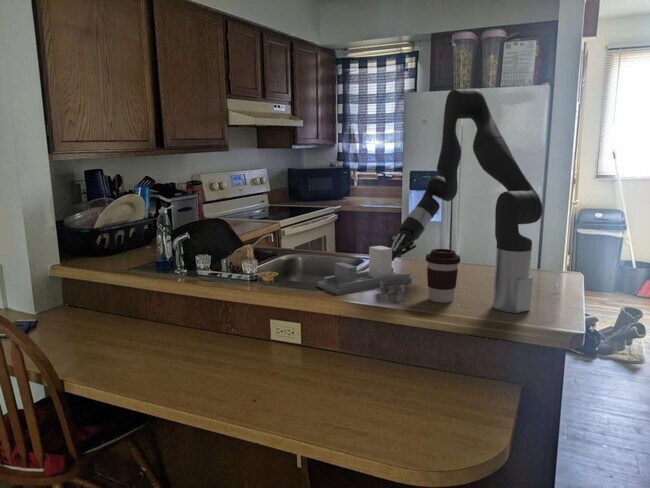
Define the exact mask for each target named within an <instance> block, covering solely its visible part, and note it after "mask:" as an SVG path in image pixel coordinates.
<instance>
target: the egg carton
mask: <svg viewBox="0 0 650 488" xmlns="http://www.w3.org/2000/svg"><path fill="white" fill-rule="evenodd" d="M378 289H379V293H380V295H379V296H380V301H383V302H385V303H386V302H387V303H389V302H396V303H400V302H404V299H405V298H404V297H405V296H404V295H405V294H404V292H405V284H399V285H394V284H393V285H392V286H388V284H387V283H382V281H381V283H380V288H378ZM385 293H386V294H385Z"/></svg>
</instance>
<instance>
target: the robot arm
mask: <svg viewBox="0 0 650 488" xmlns="http://www.w3.org/2000/svg"><path fill="white" fill-rule="evenodd" d="M458 119H459V120H462V119H471V120H472V121H473V122H474V124H475V127H476V132H475V135H474V138H473V142H472V151H473V154H474V156H475V158H476V159H477V162H478V164H479V165H480V166H479V167H481V168H482V170H483V171H484V172H485V173H487V174H488V175H489V176H490V177H491V178H493V179H495V181H497V182H498V183H500V185H502V186H503V187H504V188H505V189H506V190H507V191H503V192H501V193H500V194H499V195H498V197H497V199H496V203H495V209H494V211H495V218H494V219H495V221H494V222H495V223H494V224H495V225H494V226H495V227H494V236H495V241H496V248H495V249H496V250H495V265H494V278H493V280H494V281H493V293H492V294H493V295H492V308H494V309H496V310H498V311H501V312H506V313H514V314H520V313H523V312H528V311H531V301H532V291H533V277H532V276H530V273H531V260H532V249H533V241H532V239H531V238H530V237H526V236H523V235H522V234H521V233H520V232H519V231H520V229H519V225H529V224H535V223H537V222H538V221H539V220H540V219H541V218H542V215H543V204H542V200H541V198H540V196H539V194H538V192H537V191H536V190H535V188H534V187H533V185H532V184H531V182H530V181H529V180H528V178H527V177H526V176H525V174H524V173H523V171H522V170H521V168H520V166H519V165H518V163H517V162H516V159H515V157H514V156H513V155H512V152H511V149H510V148H509V146H508V144H507V143H506V140H505V138H504V137H503V136H502V134H501V132H500V130H499V129H498V126H497V124H496V122H495V120H494V118H493V116H492V113H491V110H490V108H489V106H488V103H487V101H486V98H485V96H484V93H482V91H480V90H479V89H477V88H453V89H451V90H450V91H449V92H448V94H447V96H446V101H445V104H444V114H443V123H442V124H443V125H442V140H441V147H440V152H439V158H438V160H437V166H436V171H437V173H438V174H439V175H435V176H432V177H431V178H430V179H429V181H428V183H427V185H426V188H425V190H424V192H423V196H422V197H421V199H420V201H418V203H417V204H416V206H415V207H414V208H413V210H411V211H410V213H409V214H408V216H406V217H405V219H404V220H403V222H402V223H401V225H400V226H399V231H398V232H397V233H396V235H394V236H392V235H390V236H388V238H387V240H388V241H387V247H388V248H392V262H394V260H395V259H396V257H397V256H399V255H401V256H403V255H405V254H407V253H409V252H410V251H412V250H413V249H415V248H416V247H417V245H416V243H415V242H416V240H419V239H420V236H422V234H423V233H424V231H426V229H427V228H428V226H429V224H430V223H431V221H432V219H433V218H434V217H435V216H436V214H437V213H438V211H439V210H440V207H441V206H440V203H439V202H438V201H437V200H436V199H435V198H434V197H436V198H438V199H440V200H442V201H445V202H451V201H453V199H455V197H456V196H457V193H458V186H459V185H458V183H459V182H458V169H459V166H460V163H461V159H462V157H461V156H462V147H461V144H460V142H459V139H458V136H457V135H458V134H457V132H456V125H457V121H458Z"/></svg>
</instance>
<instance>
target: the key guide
mask: <svg viewBox="0 0 650 488" xmlns="http://www.w3.org/2000/svg"><path fill="white" fill-rule="evenodd" d="M412 280H413V279H412V277H411V273H410V272H403V273H397V272H394V267H392V273H391V275H388V276H382V277H376V278H373V277H371V276H369V270H364V271H358V272H357V273H356V281H352V282H344V283H338V282H336V281H335V275H331V276H330V275H329V276H324V277H323V280H321V281H317V282H316V283H317V287H318V288H320V289H322V290H325V291H327V292H329V293H331V294H334V295H336V296H341V295H346V294H352V293H357V292H363V291H369V290H375V289H380V283H381V281H382V283H387V284H388V286H389V287H392V285H393V284H394V285H395V286H397V285H405V284H410V283H412Z"/></svg>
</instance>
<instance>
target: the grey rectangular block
mask: <svg viewBox="0 0 650 488" xmlns="http://www.w3.org/2000/svg"><path fill="white" fill-rule="evenodd" d="M357 269H358V268H357V266H354V265H352V264H348V263H347V262H336V263H334V276H335V281H336V282H338V283H344V282H352V281H356V273H357V271H358V270H357Z"/></svg>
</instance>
